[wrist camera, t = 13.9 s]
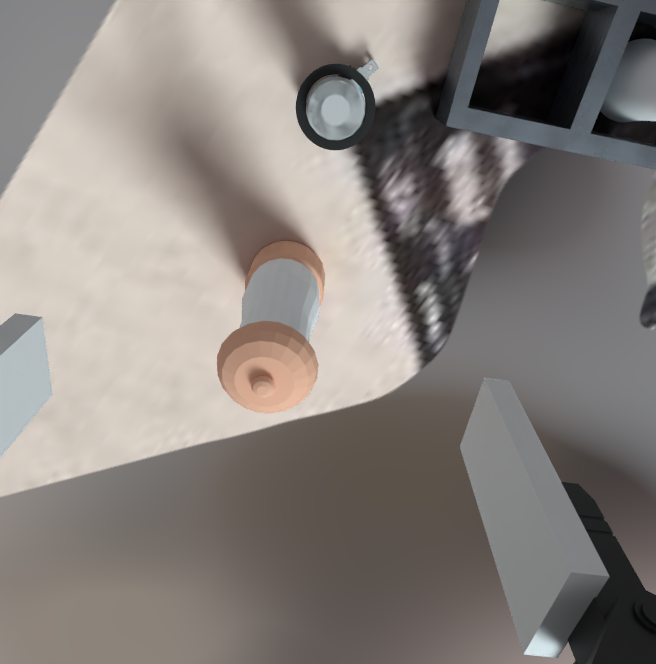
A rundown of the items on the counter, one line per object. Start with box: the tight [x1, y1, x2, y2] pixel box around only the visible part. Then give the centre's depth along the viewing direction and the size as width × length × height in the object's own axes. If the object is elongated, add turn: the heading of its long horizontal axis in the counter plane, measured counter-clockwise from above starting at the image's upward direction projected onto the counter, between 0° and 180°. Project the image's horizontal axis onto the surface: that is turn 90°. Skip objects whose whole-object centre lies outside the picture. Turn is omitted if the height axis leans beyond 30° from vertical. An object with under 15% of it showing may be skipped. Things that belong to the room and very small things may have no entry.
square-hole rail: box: [435, 0, 656, 169], centre depth 39 cm, size 20×11×5 cm, turn 79°
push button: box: [296, 59, 378, 150], centre depth 38 cm, size 7×5×10 cm
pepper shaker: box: [217, 241, 325, 413], centre depth 42 cm, size 7×7×19 cm
